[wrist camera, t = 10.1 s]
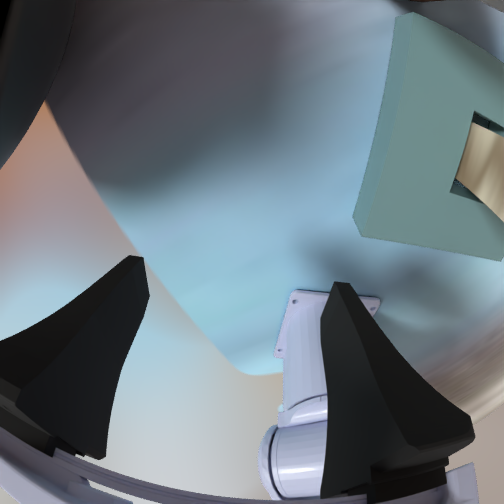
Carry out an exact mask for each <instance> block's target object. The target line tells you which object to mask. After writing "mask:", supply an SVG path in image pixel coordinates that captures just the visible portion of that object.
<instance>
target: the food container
mask: <svg viewBox="0 0 504 504" xmlns="http://www.w3.org/2000/svg"><path fill="white" fill-rule="evenodd" d="M410 1H417V2H429V1H443V0H410ZM480 1H481V2H483V3H485V4H487V5H489V6H491V7H493V8H495V9H497V10H499V11H501V12H504V0H480Z"/></svg>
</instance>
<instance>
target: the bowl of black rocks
mask: <svg viewBox="0 0 504 504" xmlns="http://www.w3.org/2000/svg"><path fill="white" fill-rule="evenodd" d="M75 5H76V0H0V169H1V168H2V167H3V165H4V164H5V163H6V161H7V160H8V159H9V157H10V156H11V155H12V153H13V152H14V150H15V149H16V147H17V146H18V144H19V143H20V141H21V140H22V138H23V137H24V135H25V134H26V132H27V130H28V129H29V127H30V125H31V123H32V122H33V120H34V118H35V116H36V115H37V113H38V111H39V109H40V107H41V105H42V104H43V102H44V100H45V98H46V95H47V93H48V91H49V89H50V87H51V85H52V82H53V80H54V78H55V75H56V73H57V71H58V68H59V65H60V63H61V60H62V57H63V54H64V51H65V48H66V45H67V42H68V38H69V35H70V31H71V27H72V22H73V17H74V12H75Z"/></svg>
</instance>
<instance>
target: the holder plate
mask: <svg viewBox="0 0 504 504" xmlns="http://www.w3.org/2000/svg"><path fill="white" fill-rule="evenodd" d="M473 113H474V114H476V115H478V116H480V117H482V118H484V119H485V120H487V121H489V122H490V123H489V127H488V130H490V131H492V132H494V133H496V134H498V135H500V136H502V137H504V63H503V62H501V61H500V60H498V59H497V58H496V57H494V56H493V55H491V54H490V53H488V52H487V51H485V50H484V49H482V48H481V47H479V46H478V45H476V44H474V43H473V42H471V41H469V40H468V39H466V38H464V37H463V36H461V35H459V34H457V33H455V32H454V31H452V30H450V29H448V28H446V27H444V26H442V25H440V24H438V23H436V22H434V21H432V20H430V19H428V18H426V17H424V16H421V15H419V14H417V13H415V12H411V13H408V14H404V15H401V16H398V17H396V18H395V27H394V35H393V42H392V49H391V55H390V62H389V68H388V73H387V79H386V84H385V90H384V95H383V100H382V105H381V109H380V114H379V119H378V123H377V128H376V132H375V136H374V140H373V144H372V148H371V152H370V156H369V160H368V164H367V168H366V172H365V175H364V179H363V183H362V186H361V190H360V193H359V197H358V200H357V203H356V207H355V210H354V213H353V219H354V221H355V223H356V226H357V228H358V230H359V232H360V235H361V237H368V238H374V239H380V240H386V241H392V242H398V243H404V244H410V245H416V246H422V247H427V248H433V249H438V250H444V251H449V252H455V253H460V254H465V255H470V256H475V257H480V258H485V259H490V260H495V261H500V262H501V260H502V259H503V257H504V222H503V221H502V220H501V219H500V218H499V217H498V216H497V215H496V214H495V213H494V212H493V211H492V210H491V209H490V208H489V207H488V206H487V205H486V204H485V203H483V202H482V201H481V200H480V199H479V198H478V197H477V196H476V195H475V194H474V193H472V192H471V191H470V190H469V189H467V188H464V187H461V186H458V185H455V184H453V181H454V178H455V175H456V172H457V169H458V166H459V163H460V160H461V157H462V154H463V150H464V147H465V144H466V140H467V136H468V133H469V129H470V125H471V121H472V117H473Z"/></svg>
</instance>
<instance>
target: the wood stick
mask: <svg viewBox="0 0 504 504" xmlns="http://www.w3.org/2000/svg"><path fill="white" fill-rule="evenodd" d="M455 178H456V179H457V180H458V181H460V182H461V183H462V184H463V185H464V186H465V187H467V188H468V189H469V190H470V191H471V192H472V193H474V194H475V195H476V196H477V197H478V198H479V199H480V200H481V201H482V202H483V203H485V204H486V205H487V206H488V207H489V208H490V209H491V210H492V211H493V212H494V213H495V214H496V215H497V216H498V217H499V218H500V219H501V220H502V221H503V222H504V137H502V136H500V135H498V134H496V133H494V132H492V131H490V130H488V129H486V128H484V127H482V126H479V125H477V124H475V123H473V122H471V125H470V129H469V133H468V136H467V140H466V144H465V147H464V150H463V154H462V157H461V160H460V163H459V166H458V169H457V172H456V175H455Z"/></svg>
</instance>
